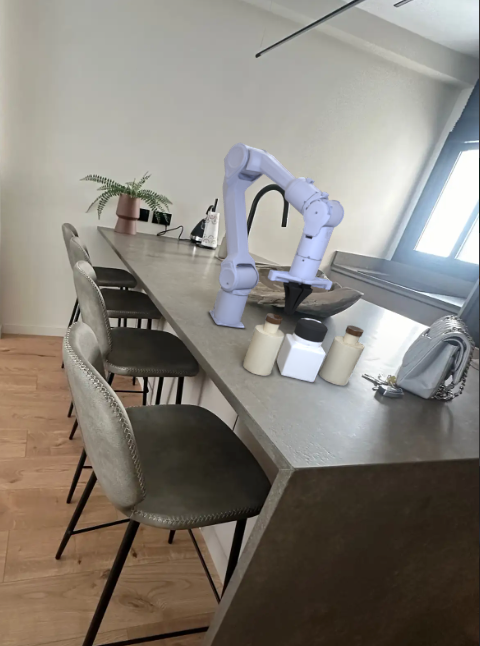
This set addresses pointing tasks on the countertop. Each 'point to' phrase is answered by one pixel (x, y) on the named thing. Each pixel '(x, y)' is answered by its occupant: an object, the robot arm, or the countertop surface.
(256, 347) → the cream bottle near
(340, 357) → the cream bottle far
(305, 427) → the countertop surface
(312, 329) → the medicine bottle
